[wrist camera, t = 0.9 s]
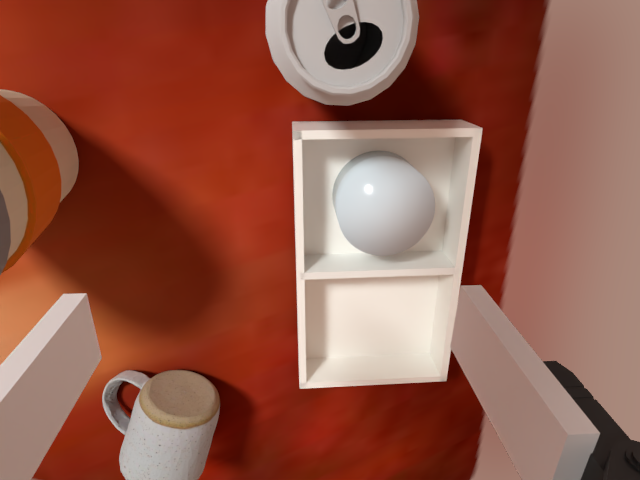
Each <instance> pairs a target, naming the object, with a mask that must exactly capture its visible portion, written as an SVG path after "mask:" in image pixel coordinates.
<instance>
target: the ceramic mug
mask: <svg viewBox="0 0 640 480" xmlns="http://www.w3.org/2000/svg"><path fill="white" fill-rule="evenodd" d="M123 381H127V382H129V383H132V384H134V385H135V386H137V387H139V388H140V389H141V391H140V393H139V394H138V396H137V399H136V401H135V404H134V407H133V411H132V415H131V418H129V417H128V416H127V415H126V413H125V412H124V411H123V410H122V408H121V406H120V404H119V402H118V400H117V391H118V388H119V386H120V384H122V382H123ZM102 401H103V407H104V410H105V412H106V414H107V416H108V418H109V419H110V421H111V422H112V423H113V424H114V426H115V427H116V428H117V429H118V430H119V431H120V432H122V433H123V434H124V435H125V438H124V441H123V444H122V447H121V451H120V457H119V462H120V469H121V472H122V474H123V476H124V477H125V479H126V480H197V479H198V478H199V477H200V475H201V474H202V472H203V470H204V467H205V463H206V459H207V456H208V452H209V449H210V446H211V442H212V438H213V434H214V431H215V428H216V425H217V421H218V418H219V410H220V397H219V394H218V391H217V389H216V387H215V386H214V385H213V384H212V383H211V382H210V381H209V380H208V379H207V378H205V377H204V376H202V375H200V374H197V373H195V372H191V371H187V370H169V371H165V372H162V373H159V374H157V375H155V376H153V377H152V378H149V377H148V376H147V375H145V374H143V373H141V372H137V371H134V370H127V371H124V372H121V373H120V374H118V375H117V376H115V377H114V378H113V379H111V380H110V381H109V382H108V383H107V385H106V386H105V388H104V392H103V396H102Z"/></svg>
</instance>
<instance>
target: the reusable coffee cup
mask: <svg viewBox="0 0 640 480" xmlns="http://www.w3.org/2000/svg"><path fill="white" fill-rule="evenodd" d="M78 168H79V159H78V153H77V148H76V146H75V143H74V140H73V138H72V136H71V134H70V132H69V131H68V129H67V128H66V126H65V125H64V123H63V122H62V121H61V120H60V119H59V118H58V116H57V115H56V114H55V113H53V112H52V111H51V110H50V109H49V108H48V107H46V106H45V105H43V104H42V103H40V102H39V101H37V100H35V99H34V98H31V97H29V96H27V95H24V94H22V93H18V92H14V91H9V90H1V89H0V275H1V273H3V272H4V271H6V270H7V269H9V268H10V267H12V266H13V265H14V264H15V263H16V262H17V261H18V259H19V258H20V257H21V256H22V255H23V254H24V253H25V252H26V251H27V249H28V248H29V247H30V246H31V245H32V244H33V242H34V241H35V240H36V239H37V238H38V237H39V236H40V234H41V233H42V232H43V231H44V230H45V229H46V228H47V226H48V225H49V224H50V223H51V222H52V220H53V218H54V216H55V214H56V212H57V210H58V207H59V203H60V202H61V201H62V200H63V199H64V198H65V196H66V195H67V194H68V193H69V192H70V191H71V189H72V188H73V186H74V184H75V182H76V179H77V175H78Z"/></svg>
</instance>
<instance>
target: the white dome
mask: <svg viewBox="0 0 640 480" xmlns="http://www.w3.org/2000/svg"><path fill="white" fill-rule="evenodd" d="M332 200H333V206H334V209H335V213H336V216H337V219H338V223H339V226H340V229H341V231H342V233H343V235H344V236H345V238H346V239H347V240H348V242H349V243H350V244H351V245H353V246H354V247H355V248H357V249H358V250H360V251H362V252H365V253H367V254H371V255H376V256H388V255H394V254H398V253H401V252H403V251H405V250H407V249H409V248H411V247H412V246H414V245H415V244H416V243H418V242H419V241H420V240H421V239H422V238H423V236H424V235H425V234H426V232H427V231H428V229H429V228H430V225H431V223H432V221H433V217H434V213H435V198H434V193H433V190H432V188H431V186H430V184H429V182H428V181H427V180H426V178H425V177H424V176H423V175H422V174H421V173H420V172H418V171H417V170H416V169H415V168H414V167H413V166H412V165H411V164H410V163H409V162H408V161H407V160H405V159H404V158H403V157H401V156H399V155H397V154H395V153H392V152H388V151H380V150H378V151H370V152H366V153H363V154H360V155H358V156H356V157H355V158H353V159H352V160H350V161H349V162H348V163H347V164H346V165H345V166H344V167H343V168H342V169H341V171H340V172H339V174H338V176H337V178H336V180H335V183H334V186H333V192H332Z"/></svg>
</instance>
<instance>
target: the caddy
mask: <svg viewBox="0 0 640 480" xmlns="http://www.w3.org/2000/svg"><path fill="white" fill-rule="evenodd" d="M482 130H483V128H481V127H479V126H476V125H474V124H471V123H469V122H466V121H464V120H386V121H308V122H292V138H293V174H294V211H295V248H296V285H297V322H298V359H299V386H300V389H303V388H322V387H342V386H362V385H381V384H401V383H421V382H440V381H447V374H448V367H449V360H450V353H451V348H450V345H451V339H452V333H453V328H454V322H455V316H456V310H457V304H458V297H459V290H460V283H461V276H462V269H463V262H464V255H465V248H466V241H467V234H468V227H469V220H470V214H471V207H472V200H473V193H474V186H475V179H476V172H477V165H478V158H479V151H480V144H481V137H482ZM378 150H380V151H388V152H392V153H395V154H397V155H399V156H401V157H403V158H404V159H405V160H407V161H408V162H409V163H410V164H411V165H412V166H413V167H414V168H415V169H416V170H417V171H418V172H420V173H421V174H422V175H423V176H424V177H425V178H426V180H427V181H428V182H429V184H430V186H431V188H432V190H433V193H434V198H435V213H434V217H433V221H432V223H431V225H430V228H429V229H428V231H427V232H426V234H425V235H424V236H423V238H422V239H421V240H420V241H419V242H418V243H416V244H415V245H414V246H412V247H411V248H409V249H407V250H405V251H403V252H401V253H398V254H394V255H388V256H376V255H371V254H367V253H365V252H362V251H360V250H358V249H357V248H355V247H354V246H353V245H351V244H350V243H349V242H348V240H347V239H346V238H345V236H344V235H343V233H342V231H341V229H340V226H339V223H338V219H337V216H336V213H335V209H334V206H333V200H332V192H333V186H334V183H335V180H336V178H337V176H338V174H339V172H340V171H341V169H342V168H343V167H344V166H345V165H346V164H347V163H348V162H349V161H350V160H352V159H353V158H355V157H356V156H358V155H360V154H363V153H366V152H370V151H378Z"/></svg>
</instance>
